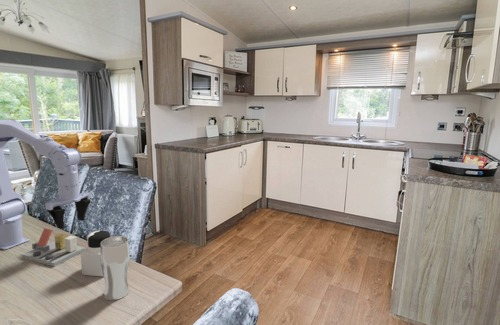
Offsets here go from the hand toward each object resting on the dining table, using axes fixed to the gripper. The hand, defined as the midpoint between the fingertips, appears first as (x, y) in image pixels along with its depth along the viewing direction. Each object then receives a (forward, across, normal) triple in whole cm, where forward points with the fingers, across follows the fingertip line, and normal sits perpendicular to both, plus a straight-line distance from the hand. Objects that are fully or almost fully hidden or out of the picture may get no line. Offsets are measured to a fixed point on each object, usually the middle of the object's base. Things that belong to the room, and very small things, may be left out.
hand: (70, 223), depth 93 cm
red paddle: (+8, -5, +8) cm, 12 cm away
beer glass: (+10, -12, -31) cm, 35 cm away
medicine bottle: (+10, -5, -18) cm, 21 cm away
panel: (+10, -4, +3) cm, 11 cm away
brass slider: (+8, -2, +3) cm, 9 cm away
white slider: (+8, -2, -2) cm, 9 cm away
